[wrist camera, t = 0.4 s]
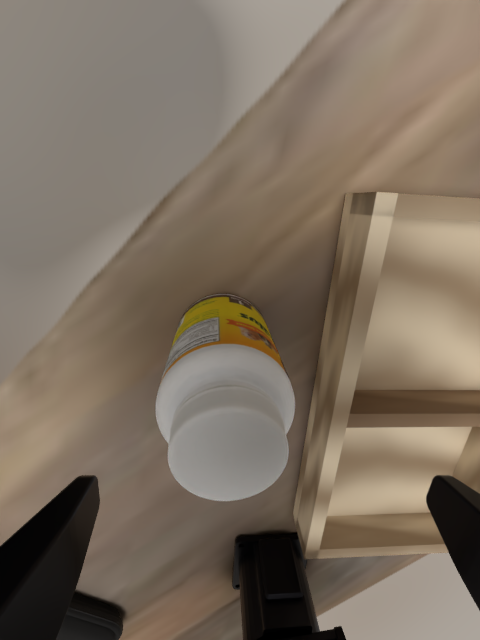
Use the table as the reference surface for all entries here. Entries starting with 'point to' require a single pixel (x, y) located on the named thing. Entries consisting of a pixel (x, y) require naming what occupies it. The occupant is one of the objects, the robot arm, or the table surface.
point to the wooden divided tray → (393, 377)
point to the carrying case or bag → (90, 621)
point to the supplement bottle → (225, 401)
